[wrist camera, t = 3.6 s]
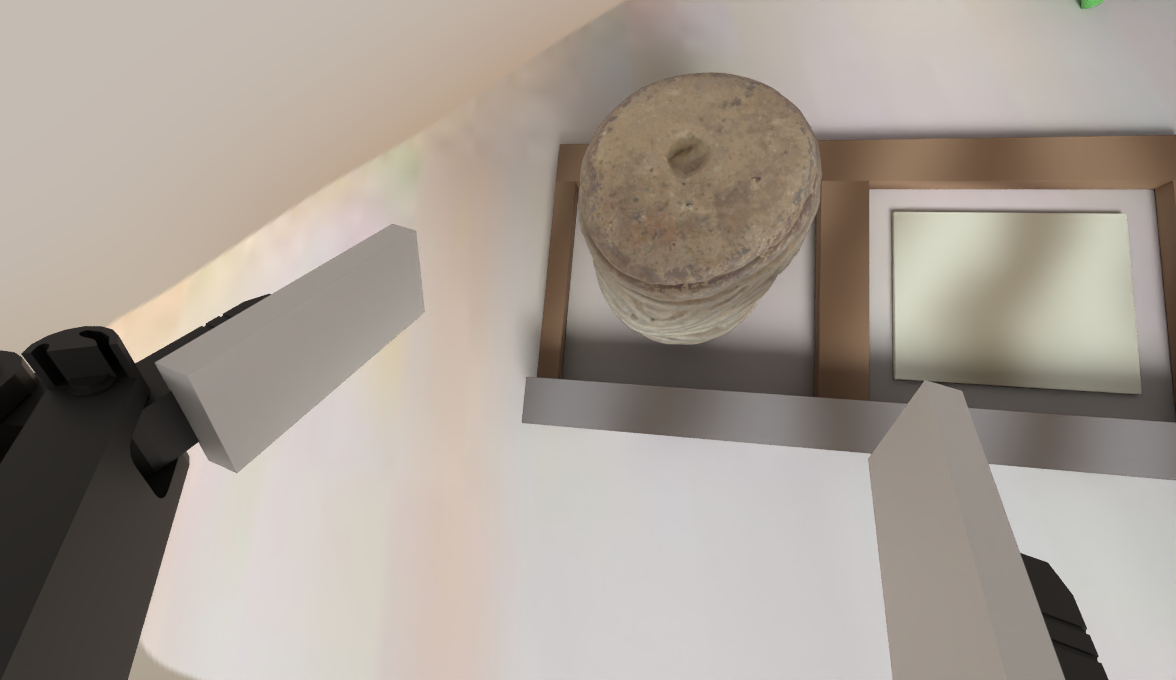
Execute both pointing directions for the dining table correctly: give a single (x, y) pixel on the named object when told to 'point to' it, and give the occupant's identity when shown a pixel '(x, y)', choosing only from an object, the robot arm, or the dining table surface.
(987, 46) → the dining table surface
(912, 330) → the rail board
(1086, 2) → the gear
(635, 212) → the carving
